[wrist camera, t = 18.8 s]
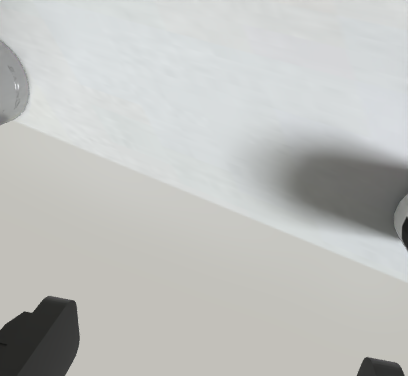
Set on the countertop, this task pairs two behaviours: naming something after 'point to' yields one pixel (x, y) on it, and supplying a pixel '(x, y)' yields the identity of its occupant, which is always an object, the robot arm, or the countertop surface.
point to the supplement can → (402, 221)
